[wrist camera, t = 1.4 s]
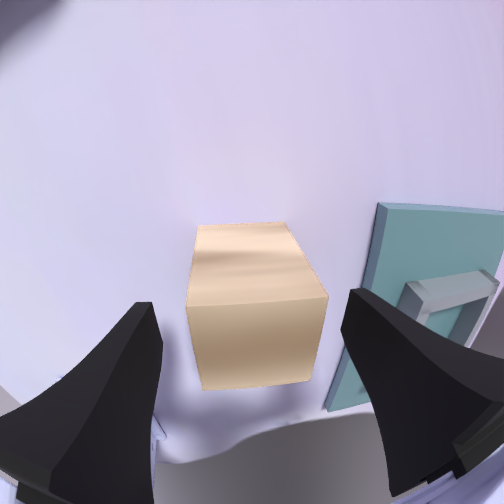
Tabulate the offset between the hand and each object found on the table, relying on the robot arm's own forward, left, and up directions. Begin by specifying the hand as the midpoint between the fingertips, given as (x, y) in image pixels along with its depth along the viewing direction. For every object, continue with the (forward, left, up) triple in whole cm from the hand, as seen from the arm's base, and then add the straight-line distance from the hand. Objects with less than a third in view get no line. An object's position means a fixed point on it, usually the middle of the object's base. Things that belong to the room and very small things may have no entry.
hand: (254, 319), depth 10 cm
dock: (-6, -14, -4) cm, 16 cm away
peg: (0, 0, -5) cm, 5 cm away
